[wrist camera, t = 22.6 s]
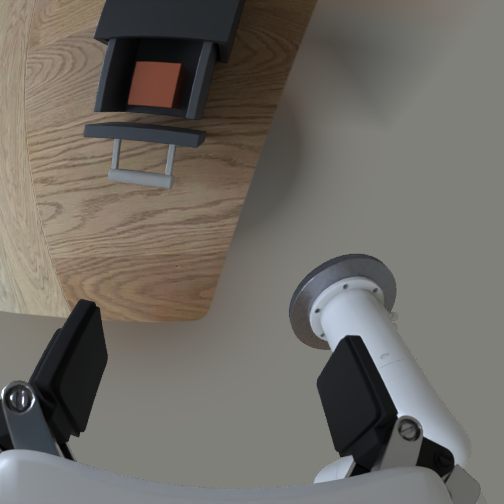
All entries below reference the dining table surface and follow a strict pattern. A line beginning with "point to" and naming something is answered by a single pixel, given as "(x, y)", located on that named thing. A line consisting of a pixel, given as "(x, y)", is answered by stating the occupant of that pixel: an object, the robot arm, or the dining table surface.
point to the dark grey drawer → (116, 100)
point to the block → (158, 84)
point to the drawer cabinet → (172, 21)
